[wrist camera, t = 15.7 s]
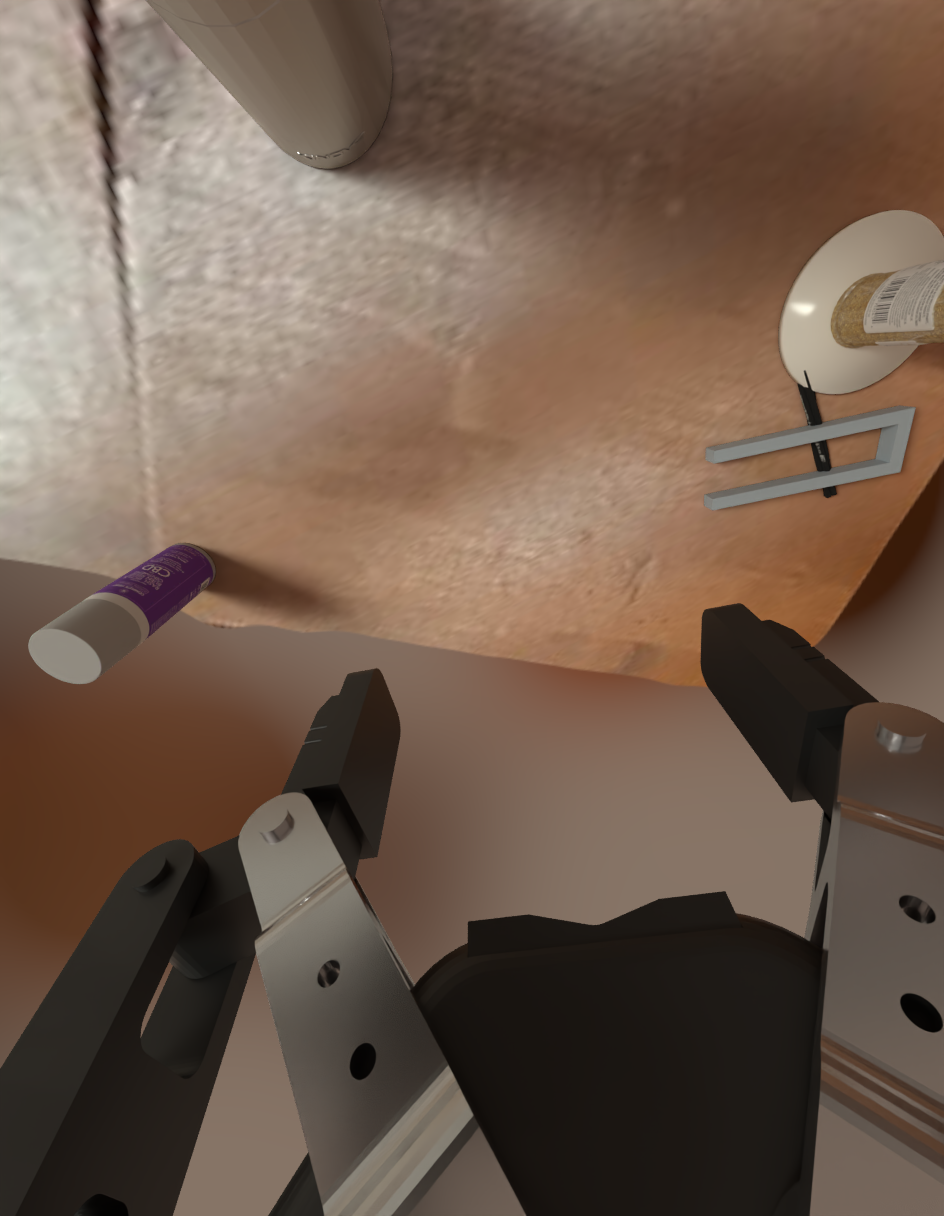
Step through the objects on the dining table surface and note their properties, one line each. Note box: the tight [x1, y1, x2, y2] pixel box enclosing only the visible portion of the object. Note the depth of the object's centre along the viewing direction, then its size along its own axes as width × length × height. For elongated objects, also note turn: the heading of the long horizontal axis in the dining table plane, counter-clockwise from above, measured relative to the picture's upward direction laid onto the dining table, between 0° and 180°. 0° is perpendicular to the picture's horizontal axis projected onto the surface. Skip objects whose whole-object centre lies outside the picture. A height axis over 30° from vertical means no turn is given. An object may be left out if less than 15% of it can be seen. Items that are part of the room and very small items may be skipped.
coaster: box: [778, 210, 944, 394], centre depth 33 cm, size 11×11×1 cm
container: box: [29, 543, 216, 684], centre depth 36 cm, size 5×5×15 cm
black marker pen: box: [797, 370, 837, 498], centre depth 37 cm, size 12×1×1 cm, turn 31°
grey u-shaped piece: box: [704, 406, 916, 510], centre depth 37 cm, size 5×15×2 cm, turn 102°
